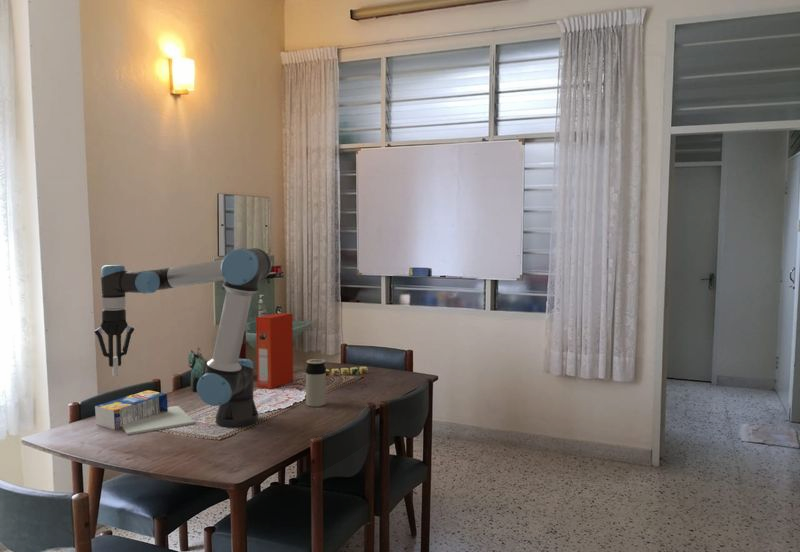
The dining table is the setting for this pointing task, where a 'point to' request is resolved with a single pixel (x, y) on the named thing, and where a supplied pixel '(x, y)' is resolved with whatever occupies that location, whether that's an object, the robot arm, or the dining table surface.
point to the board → (159, 421)
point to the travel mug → (315, 383)
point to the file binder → (274, 350)
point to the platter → (347, 371)
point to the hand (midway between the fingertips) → (115, 375)
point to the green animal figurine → (196, 368)
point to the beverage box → (130, 409)
